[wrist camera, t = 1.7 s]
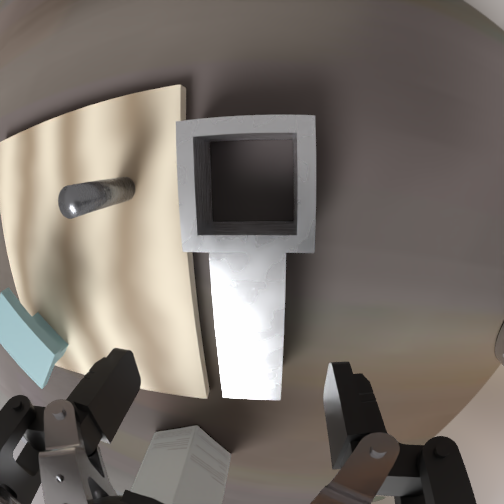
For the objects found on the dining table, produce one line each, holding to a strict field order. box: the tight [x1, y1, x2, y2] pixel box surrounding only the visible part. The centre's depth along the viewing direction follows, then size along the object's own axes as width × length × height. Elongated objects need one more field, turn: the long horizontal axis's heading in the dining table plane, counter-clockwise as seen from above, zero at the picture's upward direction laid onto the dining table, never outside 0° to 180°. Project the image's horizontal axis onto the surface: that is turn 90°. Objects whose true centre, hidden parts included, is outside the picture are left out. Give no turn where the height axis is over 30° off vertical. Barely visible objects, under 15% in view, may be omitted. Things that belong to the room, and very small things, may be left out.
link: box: [176, 115, 316, 400], centre depth 19 cm, size 19×8×4 cm, turn 1°
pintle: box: [58, 177, 135, 219], centre depth 16 cm, size 2×2×8 cm
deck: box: [0, 84, 210, 399], centre depth 21 cm, size 22×26×1 cm
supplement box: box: [130, 425, 231, 504], centre depth 22 cm, size 7×7×13 cm
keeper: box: [0, 287, 69, 389], centre depth 21 cm, size 9×7×7 cm
